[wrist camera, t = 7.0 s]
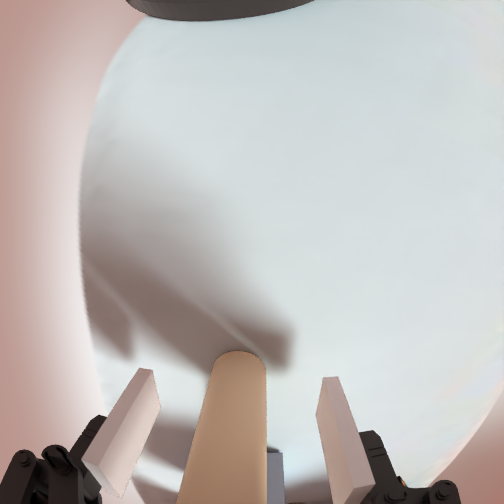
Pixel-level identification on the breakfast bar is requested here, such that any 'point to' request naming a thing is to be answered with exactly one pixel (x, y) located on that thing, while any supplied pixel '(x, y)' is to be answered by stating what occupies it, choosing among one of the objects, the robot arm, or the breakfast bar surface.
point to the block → (233, 439)
